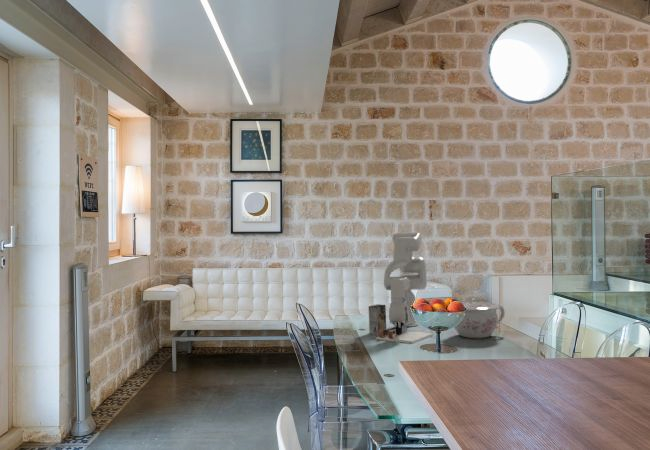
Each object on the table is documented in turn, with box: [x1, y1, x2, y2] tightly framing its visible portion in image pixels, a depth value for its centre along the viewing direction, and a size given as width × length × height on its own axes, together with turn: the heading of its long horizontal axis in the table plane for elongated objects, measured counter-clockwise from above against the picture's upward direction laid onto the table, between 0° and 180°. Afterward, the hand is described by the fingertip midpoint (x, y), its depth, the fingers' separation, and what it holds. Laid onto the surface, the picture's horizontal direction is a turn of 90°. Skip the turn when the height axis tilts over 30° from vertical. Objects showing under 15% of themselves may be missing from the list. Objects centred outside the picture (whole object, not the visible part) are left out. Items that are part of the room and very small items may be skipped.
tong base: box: [378, 324, 408, 338], centre depth 305 cm, size 22×5×5 cm, turn 142°
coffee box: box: [368, 304, 387, 336], centre depth 317 cm, size 9×6×16 cm
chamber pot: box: [453, 298, 506, 340], centre depth 299 cm, size 28×28×21 cm
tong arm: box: [388, 326, 405, 339], centre depth 302 cm, size 19×3×4 cm, turn 150°
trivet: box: [376, 330, 434, 344], centre depth 302 cm, size 24×22×1 cm
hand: (398, 334), depth 296 cm, fingers closed
